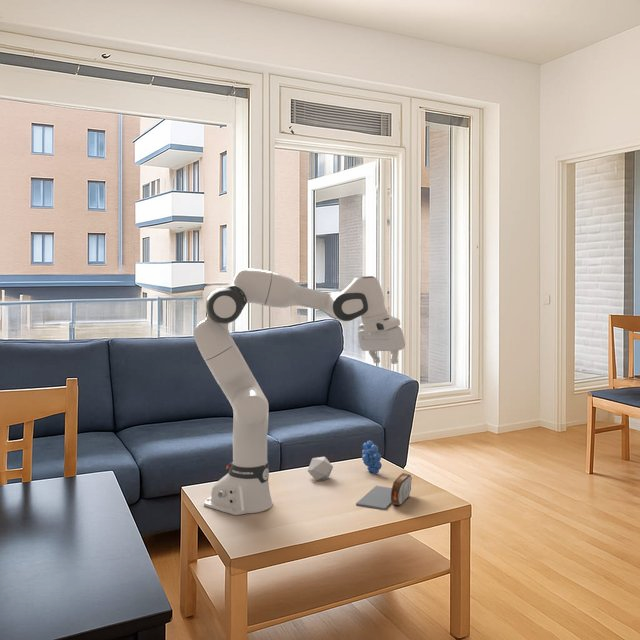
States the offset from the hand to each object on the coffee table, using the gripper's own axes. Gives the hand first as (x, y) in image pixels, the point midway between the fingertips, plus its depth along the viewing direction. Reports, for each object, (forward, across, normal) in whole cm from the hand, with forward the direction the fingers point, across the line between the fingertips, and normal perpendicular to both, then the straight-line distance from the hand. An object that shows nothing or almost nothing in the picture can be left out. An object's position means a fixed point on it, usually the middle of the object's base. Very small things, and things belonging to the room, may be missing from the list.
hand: (385, 363), depth 207 cm
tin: (+45, +2, -9) cm, 46 cm away
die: (+40, -32, -18) cm, 54 cm away
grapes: (+45, -27, +1) cm, 52 cm away
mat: (+43, -4, -13) cm, 45 cm away
